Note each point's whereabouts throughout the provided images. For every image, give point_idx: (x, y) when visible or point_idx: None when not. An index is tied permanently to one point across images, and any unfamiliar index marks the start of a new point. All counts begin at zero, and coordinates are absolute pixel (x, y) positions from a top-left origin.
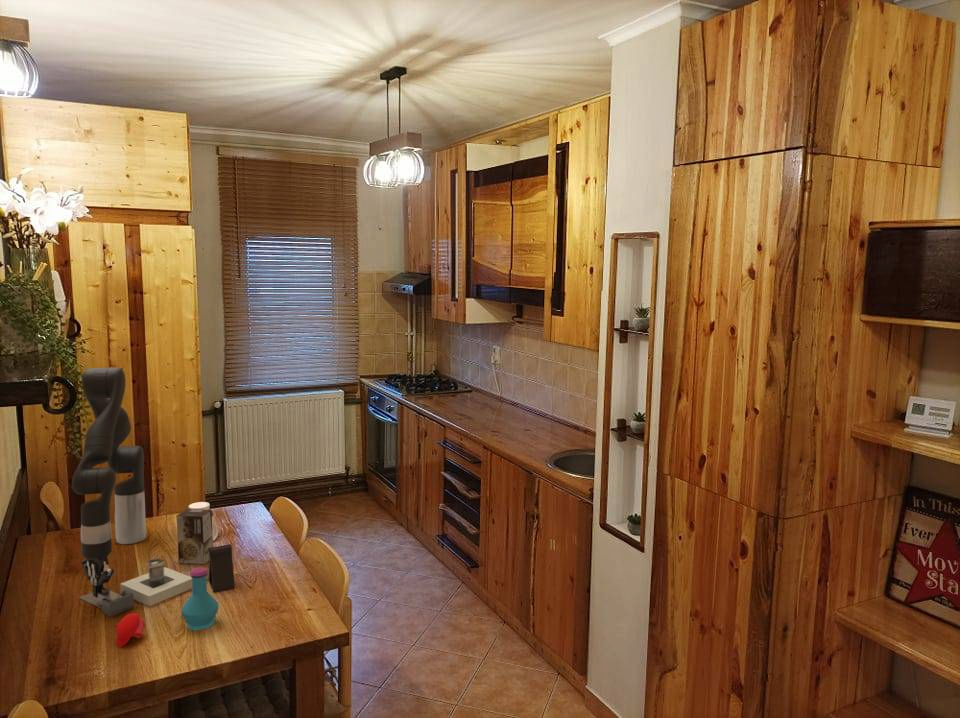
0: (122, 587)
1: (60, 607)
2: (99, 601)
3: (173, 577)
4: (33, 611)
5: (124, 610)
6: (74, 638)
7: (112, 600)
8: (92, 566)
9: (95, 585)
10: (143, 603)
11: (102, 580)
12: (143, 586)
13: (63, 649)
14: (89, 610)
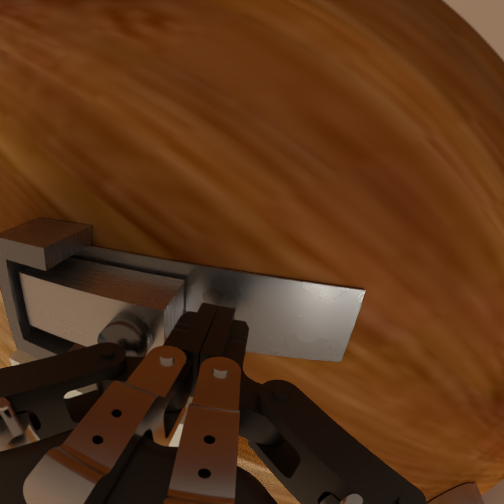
0: (185, 412)
1: (364, 164)
2: (161, 283)
3: None
4: (441, 84)
5: None
6: (31, 42)
7: (4, 261)
8: (64, 489)
9: (172, 347)
10: None
11: (38, 360)
12: None
13: (22, 3)
14: (171, 212)
